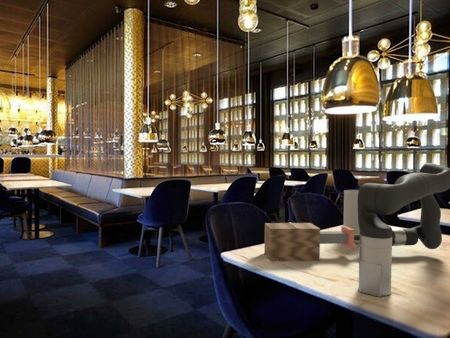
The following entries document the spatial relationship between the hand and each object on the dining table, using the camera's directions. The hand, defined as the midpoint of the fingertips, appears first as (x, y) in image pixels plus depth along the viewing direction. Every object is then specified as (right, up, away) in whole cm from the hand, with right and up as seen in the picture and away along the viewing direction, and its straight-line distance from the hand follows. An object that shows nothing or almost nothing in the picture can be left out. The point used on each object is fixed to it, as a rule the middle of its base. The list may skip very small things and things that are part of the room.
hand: (351, 237), depth 145 cm
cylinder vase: (+12, -8, +27) cm, 31 cm away
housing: (-26, -8, -2) cm, 27 cm away
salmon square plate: (-11, -4, -1) cm, 12 cm away
